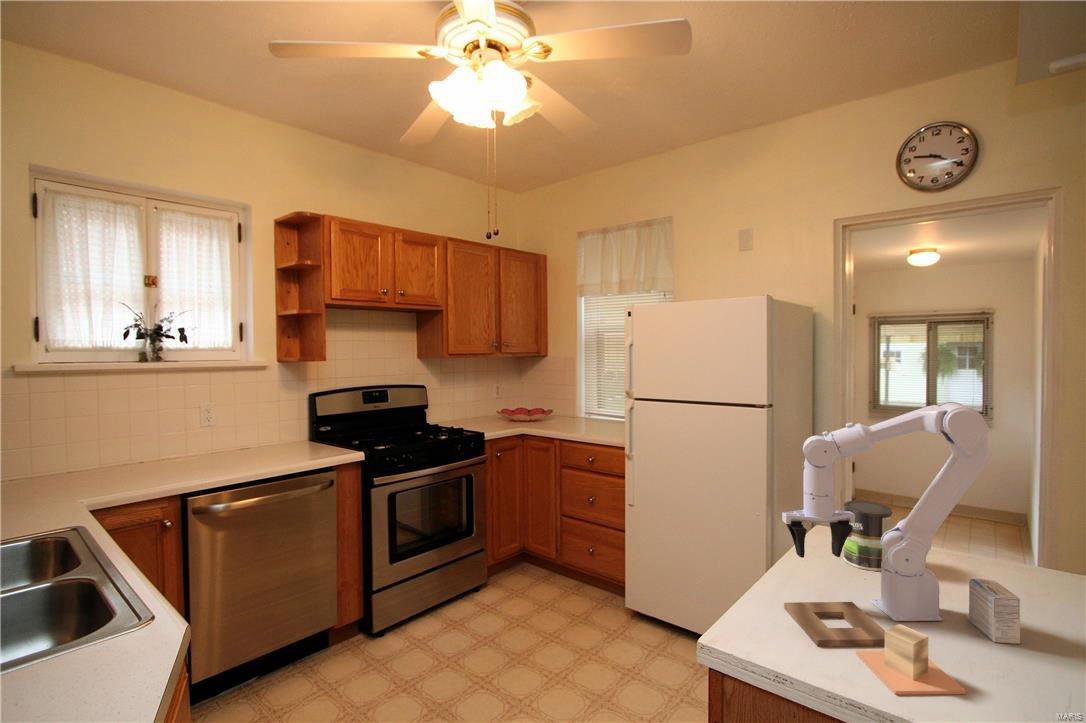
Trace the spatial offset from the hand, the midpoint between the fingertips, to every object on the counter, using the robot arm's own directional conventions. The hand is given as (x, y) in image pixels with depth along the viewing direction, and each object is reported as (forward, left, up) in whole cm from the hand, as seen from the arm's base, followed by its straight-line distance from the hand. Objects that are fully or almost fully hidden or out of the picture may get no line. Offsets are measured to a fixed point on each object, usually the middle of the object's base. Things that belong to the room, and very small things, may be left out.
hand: (818, 555), depth 116 cm
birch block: (-2, +26, -9) cm, 27 cm away
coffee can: (-21, -18, -10) cm, 29 cm away
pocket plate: (+2, +11, -9) cm, 15 cm away
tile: (-2, +26, -9) cm, 28 cm away
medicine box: (-26, +14, -10) cm, 31 cm away
